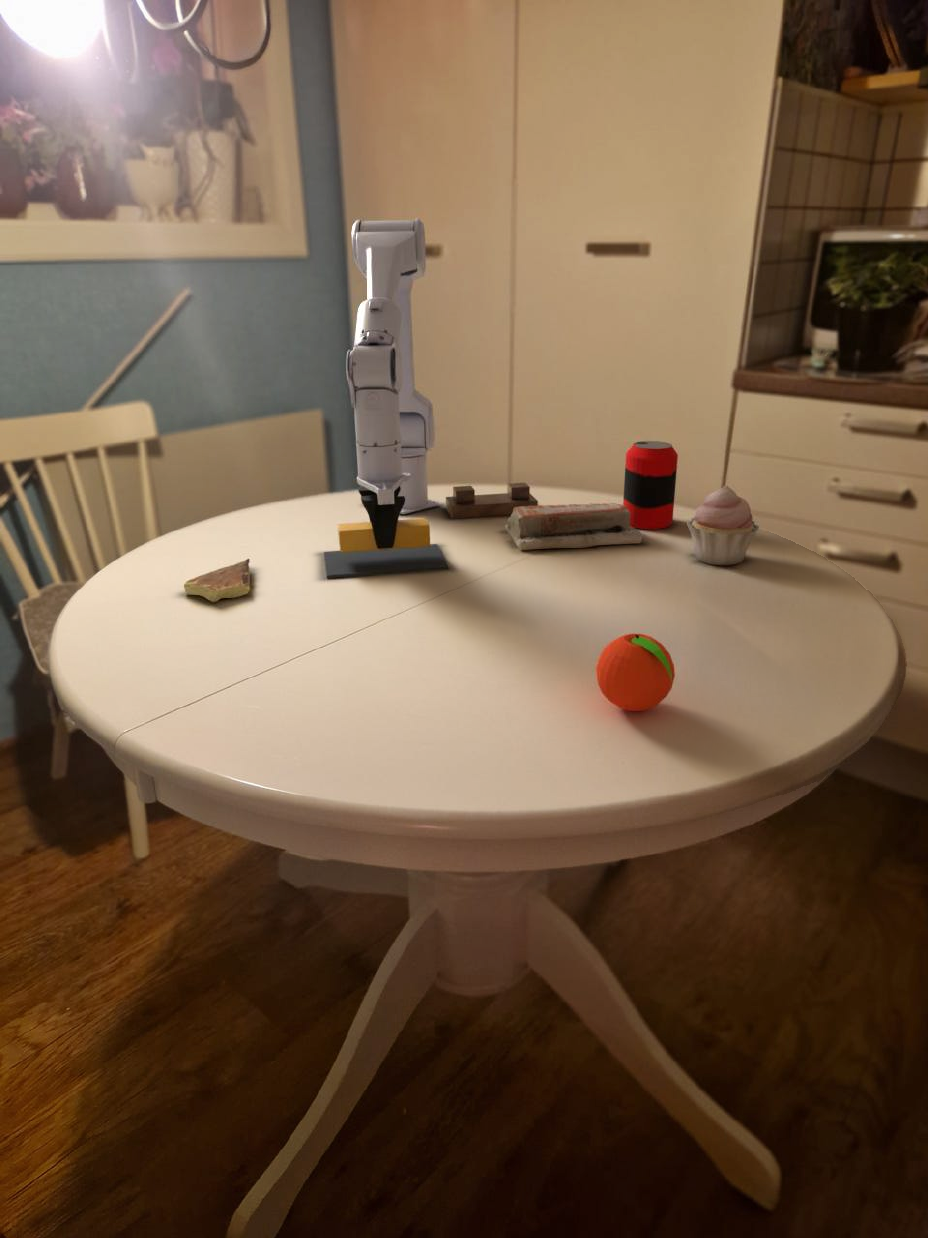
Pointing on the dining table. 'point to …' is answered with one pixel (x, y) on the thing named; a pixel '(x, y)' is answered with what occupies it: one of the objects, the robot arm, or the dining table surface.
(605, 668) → the clementine
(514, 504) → the brown two-peg stand
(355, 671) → the dining table surface
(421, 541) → the bar
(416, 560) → the mat
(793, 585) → the dining table surface
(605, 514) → the packaged product
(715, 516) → the cupcake
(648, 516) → the soda can
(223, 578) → the shard
